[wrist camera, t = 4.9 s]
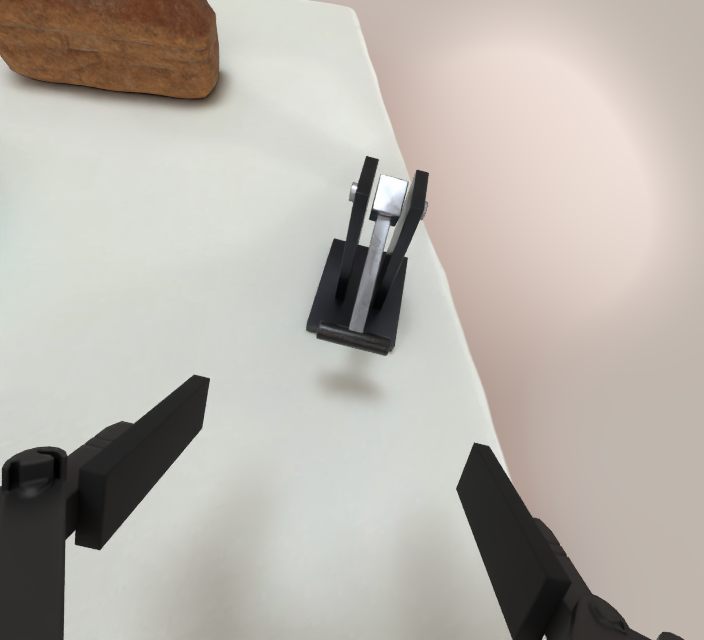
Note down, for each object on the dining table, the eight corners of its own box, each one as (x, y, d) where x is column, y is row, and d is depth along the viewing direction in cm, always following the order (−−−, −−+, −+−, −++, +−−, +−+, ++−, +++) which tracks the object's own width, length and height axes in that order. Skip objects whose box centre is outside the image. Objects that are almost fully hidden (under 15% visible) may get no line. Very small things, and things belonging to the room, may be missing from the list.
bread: (41, 39, 52) (-23, -80, 42) (229, 66, 57) (214, -36, 46) (0, 86, 45) (-89, -42, 35) (218, 112, 50) (198, 5, 39)
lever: (384, 354, 27) (388, 357, 24) (317, 338, 27) (315, 338, 24) (422, 199, 27) (430, 186, 25) (357, 182, 27) (359, 167, 25)
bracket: (391, 351, 34) (449, 257, 22) (306, 330, 34) (313, 221, 21) (404, 264, 40) (455, 151, 28) (332, 245, 40) (350, 122, 27)
